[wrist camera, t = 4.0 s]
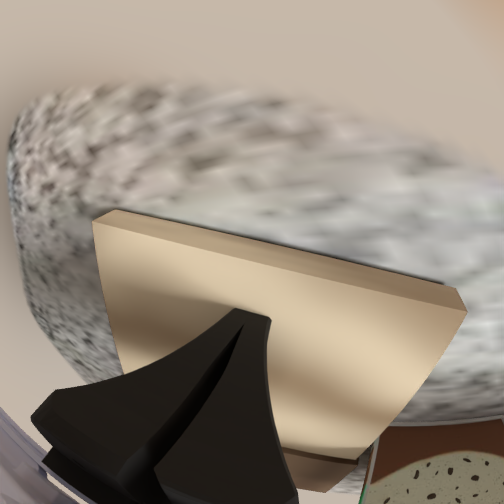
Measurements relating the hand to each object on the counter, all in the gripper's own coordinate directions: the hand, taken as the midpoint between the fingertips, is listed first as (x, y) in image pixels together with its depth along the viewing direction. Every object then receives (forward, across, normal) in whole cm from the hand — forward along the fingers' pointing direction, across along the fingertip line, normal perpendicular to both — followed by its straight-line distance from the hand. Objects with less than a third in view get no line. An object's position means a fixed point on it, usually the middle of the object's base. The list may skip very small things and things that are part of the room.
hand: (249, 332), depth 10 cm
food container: (+2, -13, +8) cm, 15 cm away
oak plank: (+1, 0, +3) cm, 3 cm away
